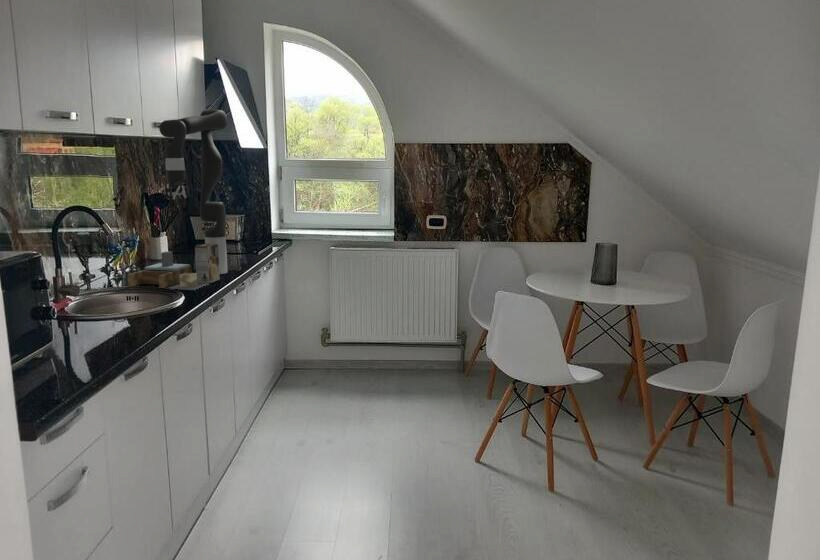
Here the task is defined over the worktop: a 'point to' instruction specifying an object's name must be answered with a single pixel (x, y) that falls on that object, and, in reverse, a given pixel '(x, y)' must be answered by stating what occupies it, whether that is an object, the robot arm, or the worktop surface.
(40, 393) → the worktop surface
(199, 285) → the mat
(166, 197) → the robot arm
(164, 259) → the lid
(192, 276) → the block
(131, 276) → the organiser
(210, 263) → the coffee box
